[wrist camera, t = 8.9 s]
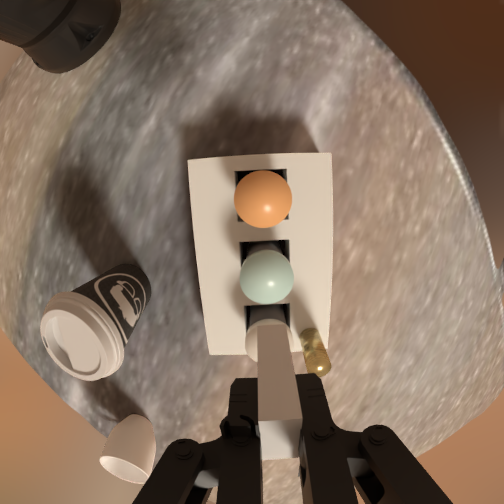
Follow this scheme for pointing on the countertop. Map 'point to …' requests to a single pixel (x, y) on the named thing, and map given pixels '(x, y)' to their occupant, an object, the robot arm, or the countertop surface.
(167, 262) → the countertop surface
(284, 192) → the knob
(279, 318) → the knob
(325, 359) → the cylinder
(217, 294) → the panel
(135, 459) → the mug
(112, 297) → the coffee cup
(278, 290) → the knob
